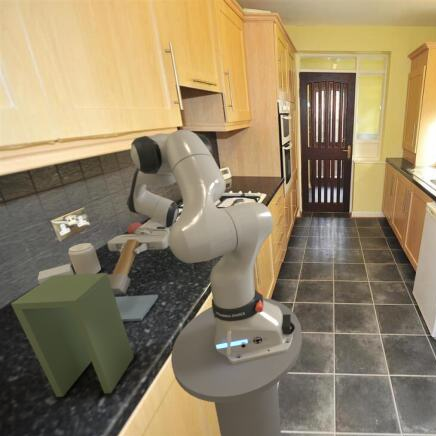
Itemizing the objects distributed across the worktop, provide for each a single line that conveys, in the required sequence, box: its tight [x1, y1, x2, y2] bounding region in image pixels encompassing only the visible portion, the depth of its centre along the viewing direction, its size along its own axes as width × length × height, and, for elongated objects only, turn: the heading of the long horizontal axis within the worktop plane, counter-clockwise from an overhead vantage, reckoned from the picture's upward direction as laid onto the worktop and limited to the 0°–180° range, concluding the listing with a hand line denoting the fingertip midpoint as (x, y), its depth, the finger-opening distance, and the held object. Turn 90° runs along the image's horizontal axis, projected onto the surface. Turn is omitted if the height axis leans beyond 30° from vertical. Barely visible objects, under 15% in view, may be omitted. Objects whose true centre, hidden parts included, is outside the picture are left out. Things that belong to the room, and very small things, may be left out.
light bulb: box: [127, 222, 143, 234], centre depth 132 cm, size 7×7×12 cm
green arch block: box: [10, 272, 135, 398], centre depth 61 cm, size 12×10×26 cm
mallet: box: [107, 239, 140, 295], centre depth 89 cm, size 6×19×4 cm
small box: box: [37, 263, 75, 285], centre depth 90 cm, size 8×6×13 cm
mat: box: [114, 294, 159, 323], centre depth 89 cm, size 16×12×1 cm
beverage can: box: [68, 242, 102, 274], centre depth 109 cm, size 8×8×12 cm
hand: (128, 252), depth 92 cm, fingers closed on mallet, 3 cm apart
